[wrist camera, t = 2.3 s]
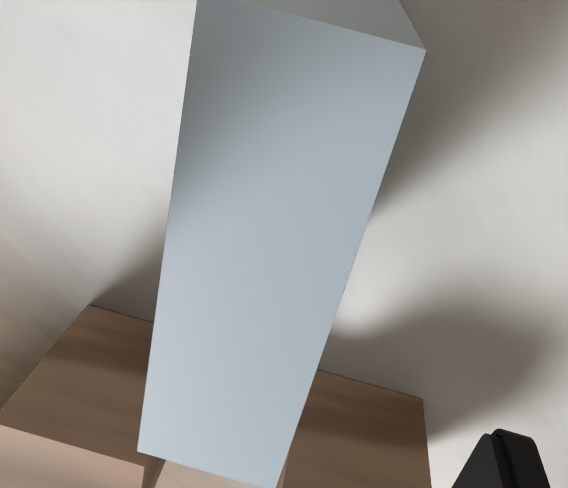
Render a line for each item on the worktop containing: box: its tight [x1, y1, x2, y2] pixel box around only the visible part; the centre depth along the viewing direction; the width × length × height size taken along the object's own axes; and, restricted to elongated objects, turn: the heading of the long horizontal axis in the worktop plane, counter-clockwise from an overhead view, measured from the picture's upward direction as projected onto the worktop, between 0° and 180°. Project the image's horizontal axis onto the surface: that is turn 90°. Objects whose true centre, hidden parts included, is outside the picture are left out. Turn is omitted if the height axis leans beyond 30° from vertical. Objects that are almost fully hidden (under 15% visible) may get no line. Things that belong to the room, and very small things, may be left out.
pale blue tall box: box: [137, 0, 427, 488], centre depth 18 cm, size 12×4×14 cm, turn 167°
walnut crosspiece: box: [0, 305, 432, 488], centre depth 28 cm, size 5×20×9 cm, turn 77°
